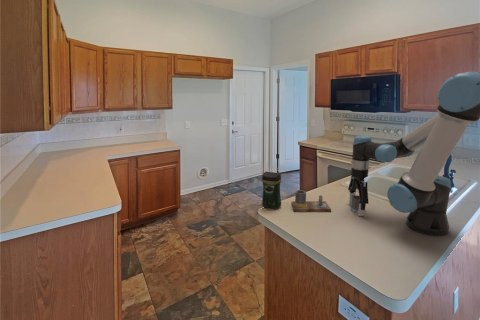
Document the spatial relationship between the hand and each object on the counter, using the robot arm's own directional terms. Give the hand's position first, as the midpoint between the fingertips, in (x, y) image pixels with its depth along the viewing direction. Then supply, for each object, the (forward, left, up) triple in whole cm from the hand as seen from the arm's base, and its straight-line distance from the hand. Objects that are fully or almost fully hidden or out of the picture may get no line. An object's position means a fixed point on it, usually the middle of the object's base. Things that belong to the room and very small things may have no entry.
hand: (356, 210), depth 133 cm
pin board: (+15, +16, 0) cm, 22 cm away
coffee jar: (+28, +31, 0) cm, 42 cm away
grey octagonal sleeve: (0, 0, 0) cm, 0 cm away
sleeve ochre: (+18, +20, +1) cm, 27 cm away
